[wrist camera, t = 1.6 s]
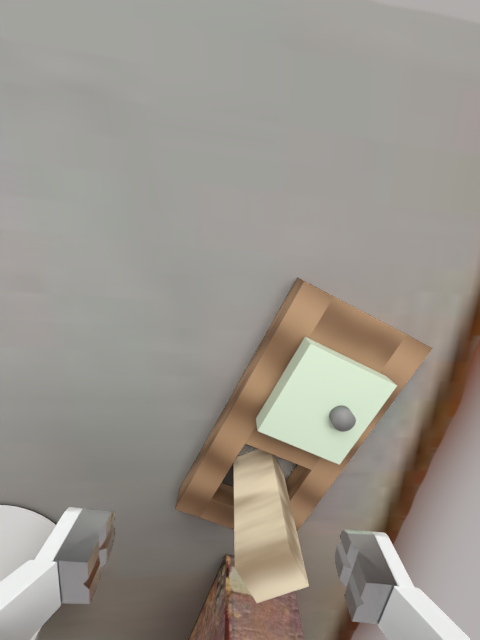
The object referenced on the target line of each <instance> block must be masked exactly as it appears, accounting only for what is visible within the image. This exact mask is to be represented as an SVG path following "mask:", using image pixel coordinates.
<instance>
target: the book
mask: <svg viewBox="0 0 480 640" xmlns="http://www.w3.org/2000/svg"><path fill="white" fill-rule="evenodd" d="M188 640H304V636H303V630H302V625H301V619H300V614H299V609H298V603H297V598H296V592H295V591H293V592H290V593H287V594H284V595H281V596H278V597H275V598H272V599H268V600H265V601H262V602H259V603H256V601H255V599H254V598H253V596H252V595H251V593H250V592H249V590H248V588H247V587H246V585H245V584H244V582H243V580H242V579H241V577H240V576H239V574H238V572H237V571H236V569H235V557H234V556H229V555H226V556H225V558H224V560H223V562H222V565H221V567H220V569H219V571H218V574H217V576H216V578H215V580H214V583H213V585H212V587H211V589H210V592H209V594H208V596H207V598H206V601H205V603H204V605H203V607H202V610H201V612H200V614H199V616H198V619H197V621H196V623H195V626H194V628H193V630H192V632H191V635H190V637H189V639H188Z"/></svg>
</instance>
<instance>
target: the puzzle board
mask: <svg viewBox="0 0 480 640" xmlns="http://www.w3.org/2000/svg"><path fill="white" fill-rule="evenodd" d="M305 337H307V338H309V339H311V340H313V341H315V342H317V343H319V344H321V345H323V346H325V347H327V348H329V349H332V350H334V351H336V352H338V353H340V354H342V355H344V356H346V357H348V358H350V359H352V360H354V361H356V362H358V363H360V364H362V365H364V366H366V367H368V368H371V369H373V370H375V371H377V372H379V373H381V374H383V375H385V376H387V377H388V378H389V379H390V380H391V381H392V382H393V383H395V384H396V385H397V387H396V388H395V390H394V391H393V392H392V394H391V395H390V396H389V398H388V399H387V401H386V402H385V403H384V405H383V406H382V407H381V409H380V410H379V412H378V413H377V414H376V416H375V417H374V418H373V420H372V421H371V422H370V424H369V425H368V427H367V428H366V429H365V431H364V432H363V433H362V435H361V436H360V438H359V439H358V440H357V442H356V443H355V444H354V446H353V447H352V448H351V450H350V451H349V453H348V454H347V455H346V457H345V458H344V459H343V461H342V462H341V464H340V465H339V464H337V463H334V462H332V461H329V460H327V459H324V458H322V457H319V456H317V455H315V454H312V453H310V452H307V451H305V450H302V449H300V448H298V447H295V446H293V445H290V444H288V443H285V442H283V441H281V440H278V439H276V438H273V437H271V436H268V435H266V434H264V433H261V432H259V431H257V424H256V418H257V416H258V414H259V413H260V411H261V409H262V408H263V406H264V404H265V403H266V401H267V399H268V398H269V396H270V394H271V393H272V391H273V389H274V388H275V386H276V384H277V383H278V381H279V379H280V378H281V376H282V374H283V373H284V371H285V369H286V368H287V366H288V364H289V363H290V361H291V359H292V358H293V356H294V354H295V353H296V351H297V349H298V348H299V346H300V344H301V343H302V341H303V339H304V338H305ZM431 349H432V348H431V347H429V346H427V345H425V344H423V343H422V342H420V341H418V340H416V339H414V338H412V337H410V336H408V335H407V334H405V333H403V332H401V331H399V330H397V329H395V328H393V327H391V326H389V325H387V324H385V323H384V322H382V321H380V320H378V319H376V318H374V317H372V316H370V315H368V314H366V313H364V312H363V311H361V310H359V309H357V308H355V307H353V306H351V305H349V304H347V303H345V302H343V301H342V300H340V299H338V298H336V297H334V296H332V295H330V294H328V293H326V292H324V291H322V290H320V289H319V288H317V287H315V286H313V285H311V284H309V283H307V282H305V281H303V280H301V279H299V278H297V279H296V281H295V283H294V285H293V287H292V288H291V290H290V292H289V294H288V295H287V297H286V299H285V301H284V303H283V304H282V306H281V308H280V310H279V312H278V313H277V315H276V317H275V319H274V321H273V322H272V324H271V326H270V328H269V329H268V331H267V333H266V335H265V337H264V338H263V340H262V342H261V344H260V346H259V347H258V349H257V351H256V353H255V355H254V356H253V358H252V360H251V362H250V363H249V365H248V367H247V369H246V371H245V372H244V374H243V376H242V378H241V380H240V381H239V383H238V385H237V387H236V389H235V390H234V392H233V394H232V396H231V398H230V399H229V401H228V403H227V405H226V406H225V408H224V410H223V412H222V414H221V415H220V417H219V419H218V421H217V423H216V424H215V426H214V428H213V430H212V432H211V433H210V435H209V437H208V439H207V440H206V442H205V444H204V446H203V448H202V449H201V451H200V453H199V455H198V457H197V458H196V460H195V462H194V464H193V466H192V467H191V469H190V471H189V473H188V474H187V476H186V478H185V480H184V482H183V483H182V485H181V487H180V489H179V493H178V498H177V502H176V507H175V509H176V510H179V511H182V512H185V513H188V514H191V515H194V516H197V517H199V518H202V519H205V520H208V521H211V522H214V523H217V524H220V525H223V526H226V527H229V528H231V529H234V487H232V486H229V485H227V484H224V483H221V482H222V481H223V479H224V477H225V476H226V474H227V472H228V471H229V469H230V467H231V466H232V464H233V462H234V461H235V459H236V457H237V456H238V454H239V453H240V451H241V449H242V448H243V446H244V444H248V445H250V446H253V447H255V448H258V449H260V450H263V451H265V452H268V453H270V454H273V455H275V456H278V457H280V458H283V459H285V460H288V461H290V462H293V463H295V464H298V465H297V466H296V467H295V469H294V470H293V472H292V473H291V475H290V476H289V478H288V479H287V481H286V487H287V491H288V495H289V500H290V504H291V509H292V513H293V517H294V522H295V526H296V531H298V529H299V528H300V527H301V525H302V524H303V523H304V521H305V520H306V519H307V517H308V516H309V515H310V513H311V512H312V510H313V509H314V508H315V506H316V505H317V504H318V502H319V501H320V500H321V498H322V497H323V496H324V494H325V493H326V492H327V490H328V489H329V487H330V486H331V485H332V483H333V482H334V481H335V479H336V478H337V477H338V475H339V474H340V473H341V471H342V470H343V469H344V467H345V466H346V464H347V463H348V462H349V460H350V459H351V458H352V456H353V455H354V454H355V452H356V451H357V450H358V448H359V447H360V445H361V444H362V443H363V441H364V440H365V439H366V437H367V436H368V435H369V433H370V432H371V431H372V429H373V428H374V427H375V425H376V424H377V422H378V421H379V420H380V418H381V417H382V416H383V414H384V413H385V412H386V410H387V409H388V408H389V406H390V405H391V403H392V402H393V401H394V399H395V398H396V397H397V395H398V394H399V393H400V391H401V390H402V389H403V387H404V386H405V385H406V383H407V382H408V380H409V379H410V378H411V376H412V375H413V374H414V372H415V371H416V370H417V368H418V367H419V366H420V364H421V363H422V362H423V360H424V359H425V357H426V356H427V355H428V353H429V352H430V351H431Z"/></svg>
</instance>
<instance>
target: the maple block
mask: <svg viewBox="0 0 480 640" xmlns="http://www.w3.org/2000/svg"><path fill="white" fill-rule="evenodd" d="M233 465H234V545H235V569H236V571H237V572H238V574H239V576H240V577H241V579H242V580H243V582H244V584H245V585H246V587H247V588H248V590H249V592H250V593H251V595H252V596H253V598H254V599H255V601H256V603H259V602H262V601H265V600H268V599H272V598H275V597H278V596H281V595H284V594H287V593H290V592H293V591H296V590H299V589H302V588H305V587H308V586H309V584H308V579H307V575H306V571H305V566H304V562H303V557H302V553H301V548H300V544H299V540H298V535H297V531H296V526H295V522H294V517H293V513H292V509H291V504H290V500H289V495H288V491H287V487H286V482H285V478H284V473H283V471H282V469H281V467H280V465H279V463H278V461H277V459H276V457H275V455H273V454H270V453H268V452H265V451H263V450H260V449H257V450H254V451H251V452H249V453H246V454H243V455H241V456H238V457H236V459H235V461H234V462H233Z"/></svg>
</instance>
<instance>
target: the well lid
mask: <svg viewBox="0 0 480 640" xmlns="http://www.w3.org/2000/svg"><path fill="white" fill-rule="evenodd" d="M396 387H397V385H396V384H395V383H393V382H392V381H391V380H390V379H389V378H388V377H387V376H385V375H383V374H381V373H379V372H377V371H375V370H373V369H371V368H368V367H366V366H364V365H362V364H360V363H358V362H356V361H354V360H352V359H350V358H348V357H346V356H344V355H342V354H340V353H338V352H336V351H334V350H332V349H329V348H327V347H325V346H323V345H321V344H319V343H317V342H315V341H313V340H311V339H309V338H307V337H305V338H304V339H303V341H302V343H301V344H300V346H299V348H298V349H297V351H296V353H295V354H294V356H293V358H292V359H291V361H290V363H289V364H288V366H287V368H286V369H285V371H284V373H283V374H282V376H281V378H280V379H279V381H278V383H277V384H276V386H275V388H274V389H273V391H272V393H271V394H270V396H269V398H268V399H267V401H266V403H265V404H264V406H263V408H262V409H261V411H260V413H259V414H258V416H257V418H256V424H257V431H259V432H261V433H264V434H266V435H268V436H271V437H273V438H276V439H278V440H281V441H283V442H285V443H288V444H290V445H293V446H295V447H298V448H300V449H302V450H305V451H307V452H310V453H312V454H315V455H317V456H319V457H322V458H324V459H327V460H329V461H332V462H334V463H337V464H339V465H340V464H341V462H342V461H343V459H344V458H345V457H346V455H347V454H348V453H349V451H350V450H351V448H352V447H353V446H354V444H355V443H356V442H357V440H358V439H359V438H360V436H361V435H362V433H363V432H364V431H365V429H366V428H367V427H368V425H369V424H370V422H371V421H372V420H373V418H374V417H375V416H376V414H377V413H378V412H379V410H380V409H381V407H382V406H383V405H384V403H385V402H386V401H387V399H388V398H389V396H390V395H391V394H392V392H393V391H394V390H395V388H396Z"/></svg>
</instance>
